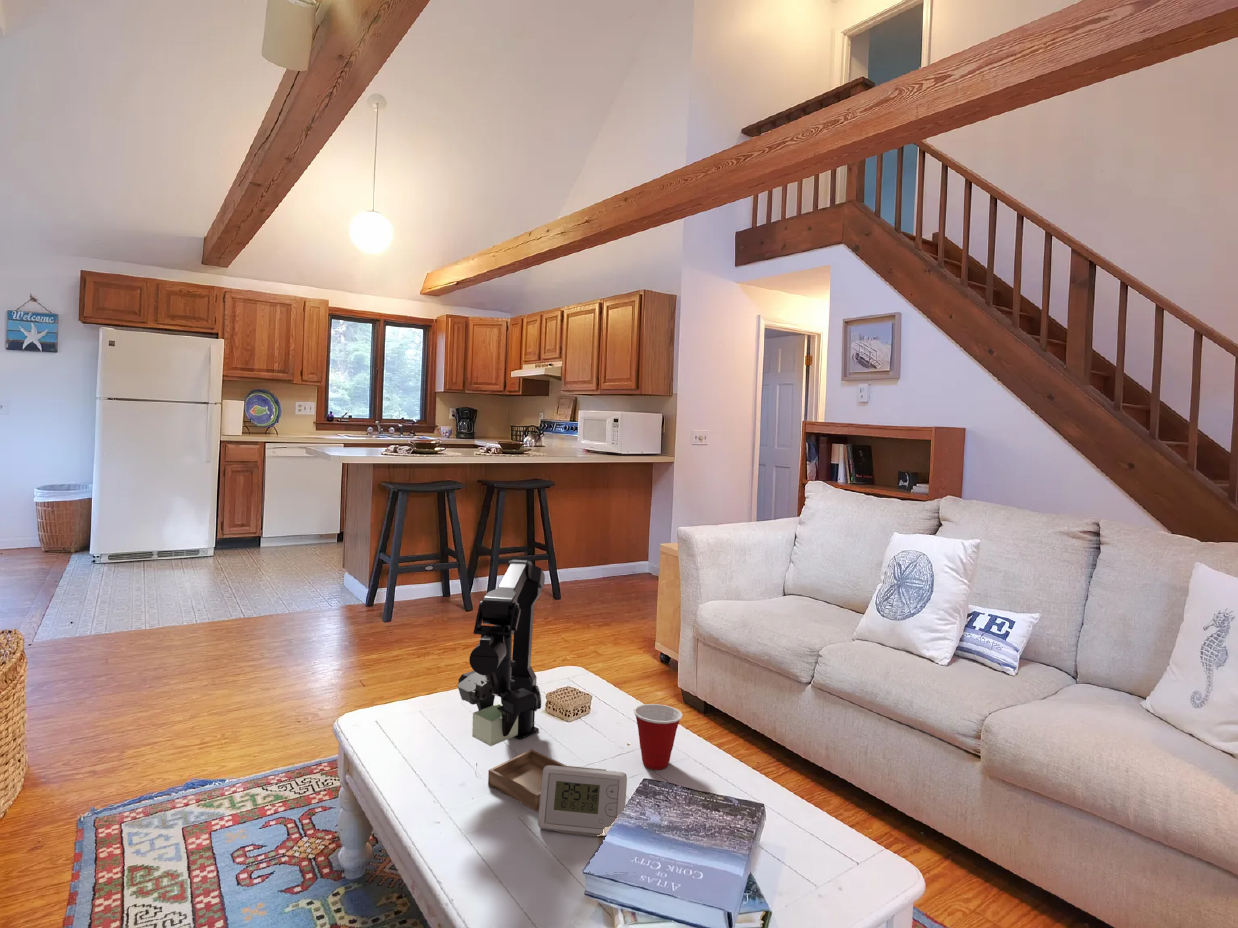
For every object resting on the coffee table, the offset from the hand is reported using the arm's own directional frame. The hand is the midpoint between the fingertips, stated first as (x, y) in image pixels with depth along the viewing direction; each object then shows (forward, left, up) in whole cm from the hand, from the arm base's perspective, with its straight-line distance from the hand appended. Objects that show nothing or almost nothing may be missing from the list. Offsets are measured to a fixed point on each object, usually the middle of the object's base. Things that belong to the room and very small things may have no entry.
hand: (495, 730), depth 144 cm
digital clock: (0, +24, -11) cm, 27 cm away
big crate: (-4, +7, -11) cm, 14 cm away
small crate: (0, 0, -1) cm, 1 cm away
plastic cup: (-29, +20, -11) cm, 37 cm away
